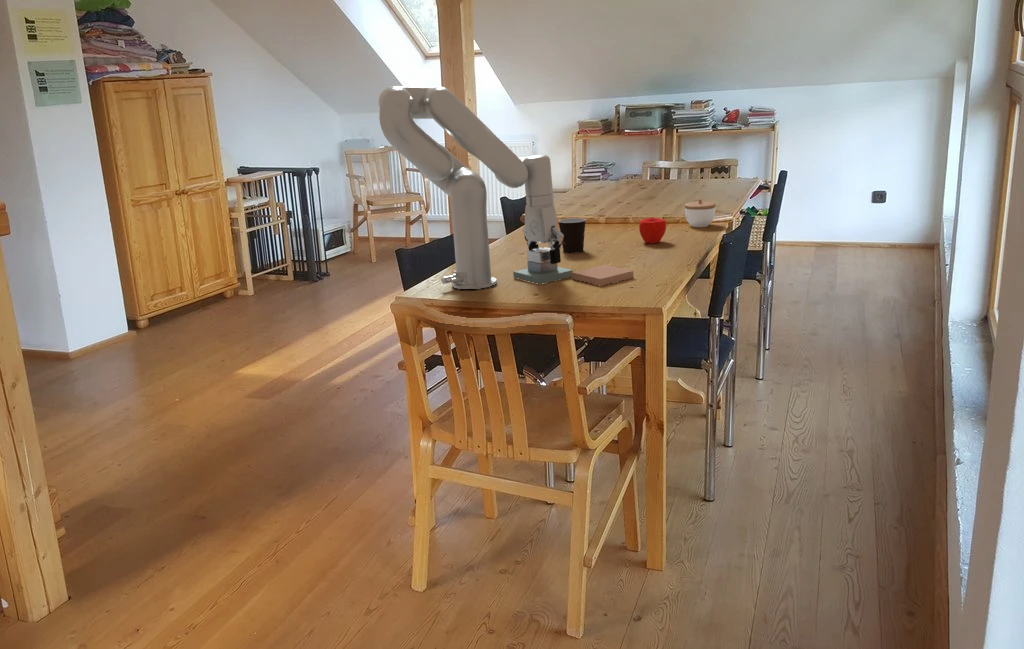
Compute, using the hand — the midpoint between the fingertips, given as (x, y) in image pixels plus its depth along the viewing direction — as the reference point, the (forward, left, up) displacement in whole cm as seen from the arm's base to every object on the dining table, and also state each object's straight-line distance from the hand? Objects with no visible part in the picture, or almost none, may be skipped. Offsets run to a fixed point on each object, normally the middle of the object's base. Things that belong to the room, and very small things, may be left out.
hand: (544, 260), depth 243 cm
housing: (-1, 0, -3) cm, 3 cm away
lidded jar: (+84, +19, -5) cm, 86 cm away
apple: (+53, +11, -5) cm, 55 cm away
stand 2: (+9, -14, -5) cm, 17 cm away
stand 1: (-1, 0, -5) cm, 5 cm away
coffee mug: (+29, +22, -5) cm, 37 cm away
